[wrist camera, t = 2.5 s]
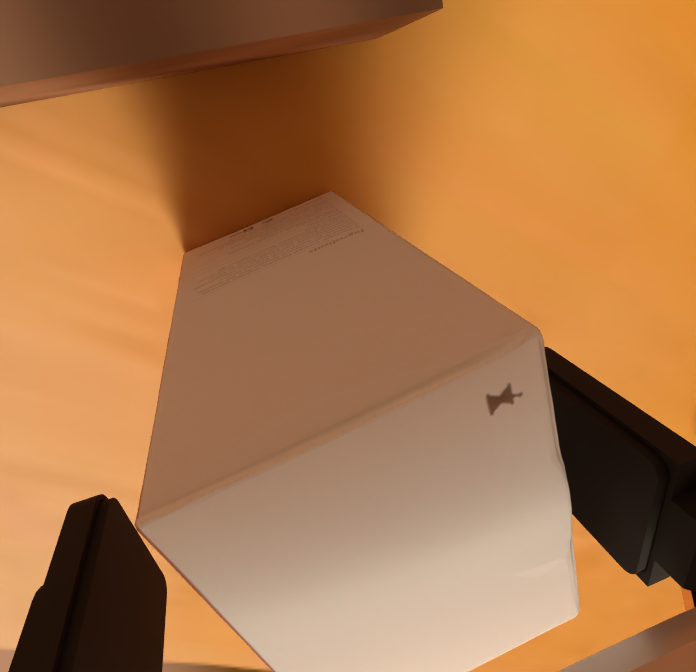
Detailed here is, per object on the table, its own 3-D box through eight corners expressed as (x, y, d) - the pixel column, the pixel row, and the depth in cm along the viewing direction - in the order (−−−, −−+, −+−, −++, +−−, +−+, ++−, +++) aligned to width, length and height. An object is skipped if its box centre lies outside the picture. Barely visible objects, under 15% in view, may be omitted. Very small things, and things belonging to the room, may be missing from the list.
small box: (179, 252, 17) (115, 526, 6) (333, 186, 17) (557, 319, 6) (269, 408, 21) (335, 750, 10) (391, 351, 21) (592, 615, 10)
